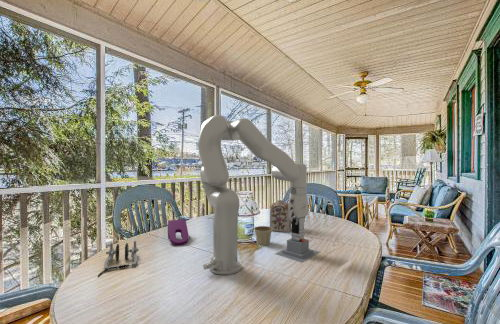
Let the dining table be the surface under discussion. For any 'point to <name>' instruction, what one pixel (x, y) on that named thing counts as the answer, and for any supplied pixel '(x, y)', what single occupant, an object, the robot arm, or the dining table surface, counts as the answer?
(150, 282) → the dining table surface
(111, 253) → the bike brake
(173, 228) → the mounting bracket
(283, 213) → the decorative jar
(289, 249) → the stand base
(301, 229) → the column
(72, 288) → the dining table surface
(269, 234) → the flower pot
